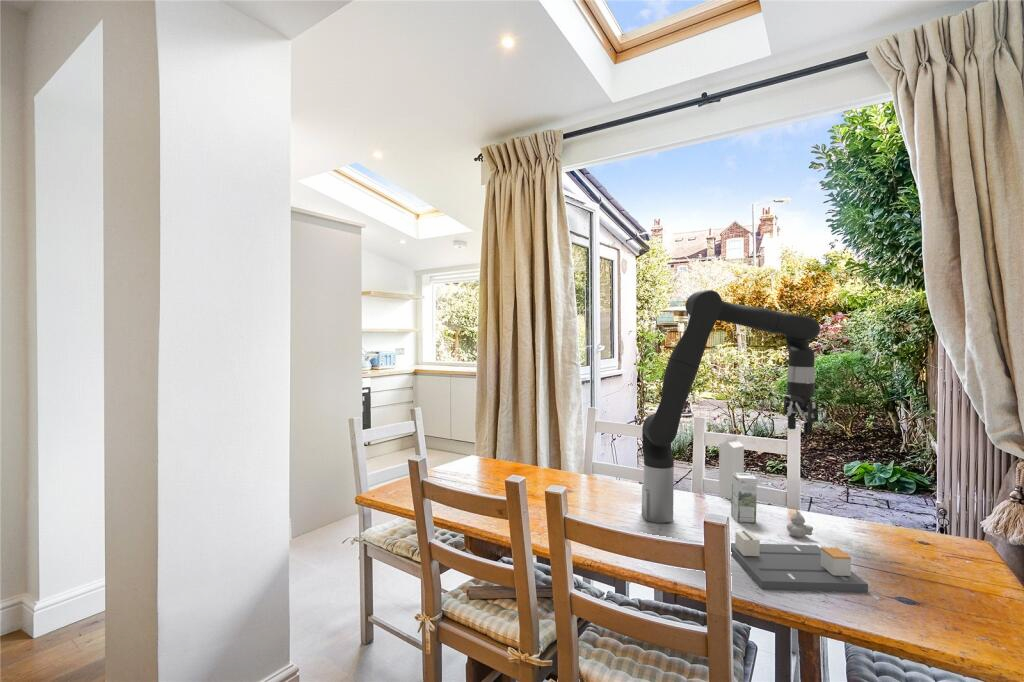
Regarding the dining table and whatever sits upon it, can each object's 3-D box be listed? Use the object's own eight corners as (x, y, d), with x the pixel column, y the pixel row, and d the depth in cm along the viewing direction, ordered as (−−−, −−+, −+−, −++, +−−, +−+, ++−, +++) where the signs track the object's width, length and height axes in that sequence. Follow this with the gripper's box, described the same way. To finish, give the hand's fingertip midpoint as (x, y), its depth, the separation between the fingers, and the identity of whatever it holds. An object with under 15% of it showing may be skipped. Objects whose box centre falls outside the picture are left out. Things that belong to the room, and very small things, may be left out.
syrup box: (749, 516, 155) (749, 472, 154) (756, 523, 149) (757, 477, 148) (730, 515, 155) (731, 471, 155) (737, 523, 149) (738, 477, 149)
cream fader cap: (743, 555, 122) (743, 538, 122) (735, 547, 127) (735, 530, 127) (759, 556, 122) (759, 538, 122) (750, 547, 127) (750, 530, 127)
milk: (743, 497, 173) (744, 437, 172) (732, 500, 170) (734, 439, 169) (728, 492, 178) (729, 434, 177) (718, 495, 175) (719, 435, 174)
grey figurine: (788, 530, 144) (788, 504, 143) (814, 536, 140) (814, 509, 139) (785, 536, 139) (785, 509, 139) (811, 543, 135) (812, 515, 135)
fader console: (761, 589, 111) (761, 580, 111) (726, 550, 131) (727, 542, 131) (868, 592, 109) (868, 583, 109) (816, 552, 129) (816, 544, 129)
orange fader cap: (833, 575, 113) (833, 556, 113) (820, 565, 118) (820, 547, 118) (850, 575, 113) (851, 557, 112) (837, 565, 118) (837, 547, 117)
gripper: (776, 378, 157) (775, 427, 157) (802, 383, 143) (801, 436, 143) (799, 378, 157) (798, 427, 157) (827, 383, 143) (826, 437, 143)
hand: (799, 431), depth 150 cm, fingers open, 8 cm apart
